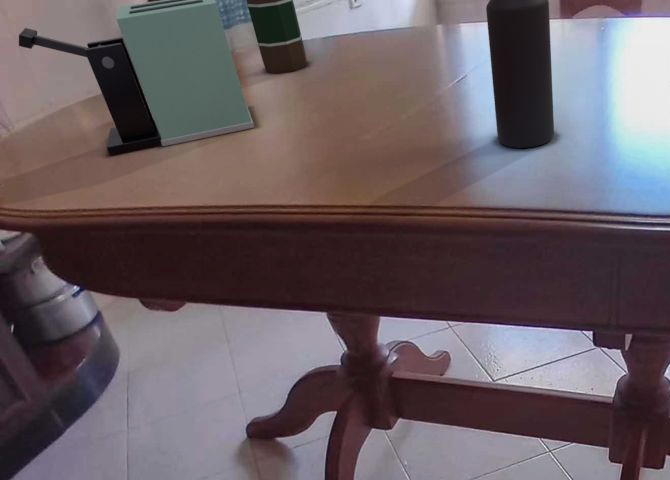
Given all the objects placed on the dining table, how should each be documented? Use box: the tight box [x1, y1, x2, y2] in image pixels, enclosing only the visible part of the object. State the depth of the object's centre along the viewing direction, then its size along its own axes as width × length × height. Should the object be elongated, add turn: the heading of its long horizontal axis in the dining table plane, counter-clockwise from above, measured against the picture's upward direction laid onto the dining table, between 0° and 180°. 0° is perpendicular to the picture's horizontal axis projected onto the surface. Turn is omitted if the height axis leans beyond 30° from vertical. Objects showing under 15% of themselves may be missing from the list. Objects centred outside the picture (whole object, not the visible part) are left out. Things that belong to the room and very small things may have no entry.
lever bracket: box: [85, 36, 162, 157], centre depth 95 cm, size 8×9×13 cm
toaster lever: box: [18, 27, 105, 58], centre depth 90 cm, size 11×5×2 cm, turn 111°
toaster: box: [115, 0, 255, 147], centre depth 96 cm, size 12×10×16 cm
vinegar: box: [485, 0, 555, 149], centre depth 78 cm, size 7×7×20 cm
